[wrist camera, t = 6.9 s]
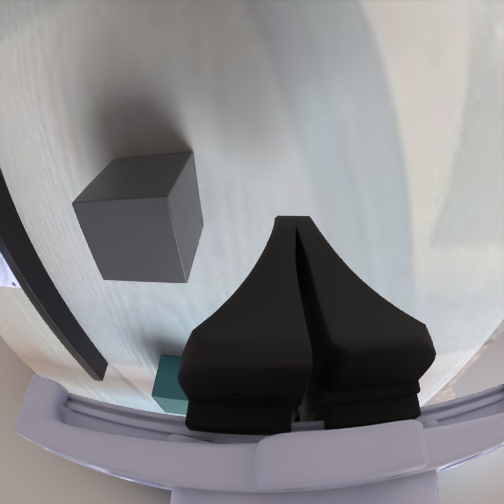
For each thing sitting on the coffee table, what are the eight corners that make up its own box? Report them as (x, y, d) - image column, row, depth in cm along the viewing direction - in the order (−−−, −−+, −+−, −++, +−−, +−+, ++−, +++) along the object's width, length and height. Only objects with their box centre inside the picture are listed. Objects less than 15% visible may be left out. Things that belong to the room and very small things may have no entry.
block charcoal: (132, 227, 17) (103, 280, 13) (113, 159, 14) (71, 203, 10) (203, 225, 16) (187, 283, 13) (193, 151, 14) (167, 196, 10)
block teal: (171, 375, 29) (164, 412, 26) (160, 355, 26) (151, 395, 23) (212, 379, 29) (207, 417, 25) (205, 358, 26) (199, 401, 22)
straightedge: (99, 362, 29) (93, 379, 27) (-33, -27, 3) (-57, -23, 1) (108, 363, 29) (102, 381, 27) (-23, -36, 3) (-48, -34, 1)
